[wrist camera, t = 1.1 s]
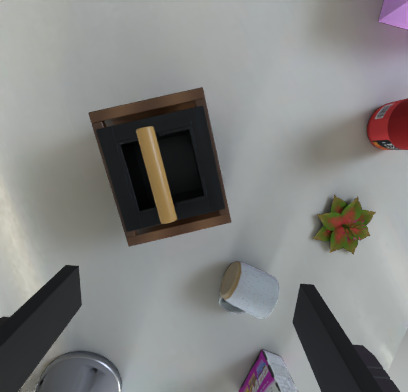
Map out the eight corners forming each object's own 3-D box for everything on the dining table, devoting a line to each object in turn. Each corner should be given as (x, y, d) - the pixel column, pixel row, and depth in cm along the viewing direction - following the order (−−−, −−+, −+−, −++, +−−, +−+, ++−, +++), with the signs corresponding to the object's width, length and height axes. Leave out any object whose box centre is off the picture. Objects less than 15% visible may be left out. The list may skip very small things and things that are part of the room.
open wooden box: (142, 219, 43) (124, 248, 30) (116, 125, 40) (82, 113, 27) (221, 200, 43) (236, 221, 31) (201, 106, 40) (207, 85, 27)
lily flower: (354, 262, 47) (371, 274, 43) (300, 242, 46) (312, 252, 41) (383, 206, 46) (404, 212, 41) (328, 183, 44) (345, 187, 40)
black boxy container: (138, 216, 36) (108, 256, 23) (114, 133, 34) (64, 121, 20) (218, 198, 37) (237, 226, 23) (200, 114, 34) (208, 89, 21)
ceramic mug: (233, 252, 45) (242, 272, 38) (271, 269, 46) (286, 292, 39) (207, 298, 47) (211, 327, 39) (244, 314, 48) (255, 344, 40)
